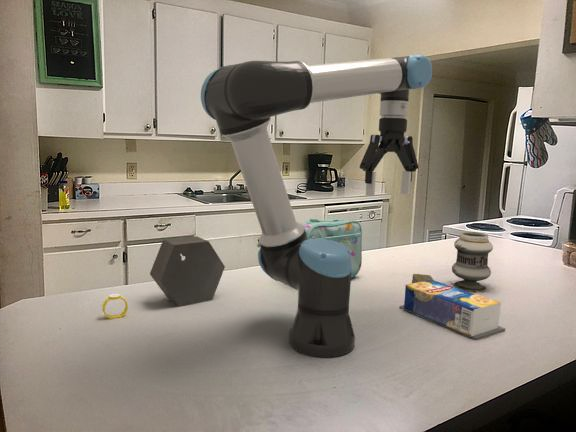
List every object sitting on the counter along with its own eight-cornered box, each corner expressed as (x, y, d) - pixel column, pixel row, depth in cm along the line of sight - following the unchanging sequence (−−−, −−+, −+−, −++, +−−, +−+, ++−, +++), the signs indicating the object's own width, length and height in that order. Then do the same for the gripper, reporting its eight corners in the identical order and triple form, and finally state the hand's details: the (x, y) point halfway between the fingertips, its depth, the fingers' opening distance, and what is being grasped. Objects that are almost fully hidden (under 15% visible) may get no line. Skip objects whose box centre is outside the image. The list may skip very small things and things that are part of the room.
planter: (220, 274, 147) (186, 221, 138) (233, 280, 141) (199, 225, 132) (177, 311, 140) (138, 259, 131) (189, 320, 134) (149, 265, 125)
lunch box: (307, 292, 148) (310, 223, 144) (285, 284, 155) (287, 218, 152) (363, 278, 165) (367, 216, 162) (341, 271, 173) (344, 212, 169)
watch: (104, 322, 120) (102, 299, 119) (102, 318, 123) (100, 296, 121) (129, 316, 123) (127, 294, 122) (127, 313, 125) (125, 291, 124)
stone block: (417, 298, 146) (419, 282, 145) (410, 287, 157) (411, 272, 157) (437, 299, 146) (438, 283, 145) (428, 288, 157) (429, 273, 156)
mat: (475, 340, 116) (475, 337, 116) (399, 307, 137) (399, 305, 137) (505, 330, 123) (505, 328, 122) (428, 301, 143) (428, 299, 143)
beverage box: (501, 302, 121) (432, 279, 140) (473, 309, 115) (405, 284, 134) (498, 328, 123) (430, 302, 141) (471, 336, 117) (403, 308, 135)
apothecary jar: (444, 286, 159) (448, 232, 156) (459, 279, 167) (464, 228, 165) (480, 295, 151) (486, 239, 148) (494, 287, 159) (500, 234, 157)
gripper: (368, 114, 122) (363, 198, 125) (435, 119, 135) (428, 194, 139) (349, 115, 128) (345, 194, 131) (414, 120, 142) (409, 191, 145)
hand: (388, 194), depth 135 cm, fingers open, 13 cm apart
